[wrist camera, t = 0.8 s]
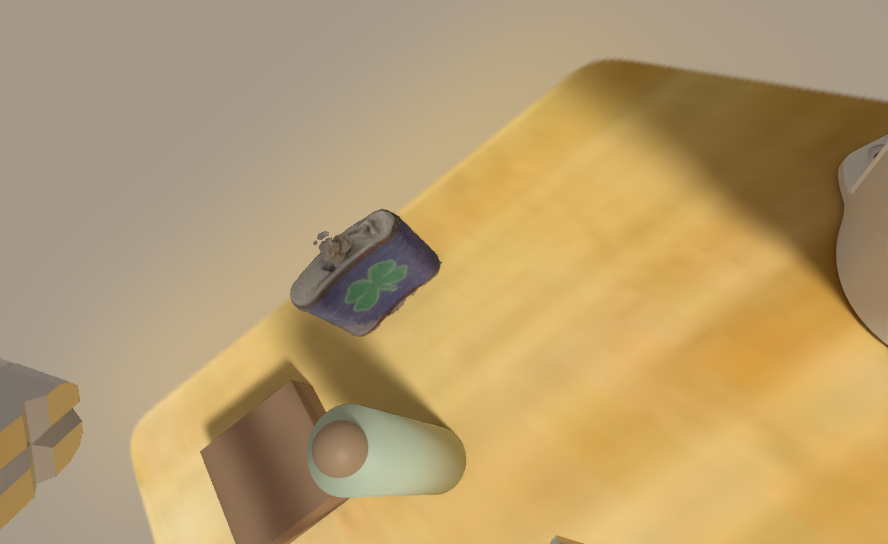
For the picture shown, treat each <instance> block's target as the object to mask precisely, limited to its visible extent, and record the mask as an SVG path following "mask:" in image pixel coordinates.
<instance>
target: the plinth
mask: <svg viewBox="0 0 888 544" xmlns="http://www.w3.org/2000/svg"><path fill="white" fill-rule="evenodd" d="M325 413H326V412H325V410H324V408H323V406H322V404H321V402H320V400H319V398H318V396H317V394H316V392H315V391H314V389H313V387H312V386H310V385H306V384H303V383H299V382H296V381H292V380H290V381H289V382H288V383H287V384H285V385H284V386H283V387H282V388H280V389H279V390H278V391H276V392H275V393H274V394H273V395H271V396H270V397H269V398H268V399H266V400H265V401H264V402H262V403H261V404H260V405H259V406H257V407H256V408H255V409H254V410H252V411H251V412H250V413H248V414H247V415H246V416H245V417H243V418H242V419H241V420H240V421H238V422H237V423H236V424H234V425H233V426H232V427H231V428H229V429H228V430H227V431H226V432H224V433H223V434H222V435H220V436H219V437H218V438H217V439H215V440H214V441H213V442H212V443H210V444H209V445H208V446H206V447H205V448H204V449H203V450H201V451H200V453H201V455H202V458H203V460H204V463H205V466H206V468H207V471H208V473H209V476H210V478H211V481H212V484H213V486H214V489H215V491H216V494H217V497H218V499H219V502H220V504H221V507H222V509H223V512H224V515H225V517H226V520H227V522H228V525H229V527H230V530H231V533H232V535H233V538H234V540H235V543H236V544H290V543H291V542H292V541H294V540H295V539H296V538H298V537H299V536H300V535H302V534H303V533H304V532H306V531H307V530H308V529H310V528H311V527H312V526H314V525H315V524H316V523H318V522H319V521H320V520H321V519H323V518H324V517H325V516H327V515H328V514H329V513H331V512H332V511H333V510H335V509H336V508H337V507H339V506H340V505H341V504H343V503H344V502H345V501H347V500H348V499H349V498H350V497H348V498H341V497H335V496H332V495H330V494H328V493H326V492H324V491H323V490H322V489H321V488H320V487H319V486H318V485H317V484H316V483H315V481H314V480H313V478H312V476H311V474H310V471H309V468H308V463H307V446H308V441H309V437H310V435H311V432H312V430H313V428H314V426H315V425H316V423H317V422H318V420H319V419H320V418H321V417H322V416H323V415H324V414H325Z"/></svg>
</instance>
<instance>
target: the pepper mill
mask: <svg viewBox="0 0 888 544" xmlns="http://www.w3.org/2000/svg"><path fill="white" fill-rule="evenodd" d="M307 463H308V468H309V471H310V474H311V476H312V478H313V480H314V481H315V483H316V484H317V485H318V486H319V487H320V488H321V489H322V490H323V491H324V492H326V493H328V494H330V495H332V496H335V497H341V498H348V497H379V496H409V495H437V494H442V493H445V492H448V491H449V490H451V489H452V488H454V487H455V486H456V485H457V484H458V482H459V481H460V479H461V478H462V476H463V473H464V470H465V466H466V454H465V449H464V446H463V444H462V442H461V440H460V439H459V438H458V436H457V435H456V434H455V433H453V432H452V431H451V430H449V429H447V428H444V427H440V426H437V425H433V424H429V423H425V422H422V421H418V420H414V419H410V418H407V417H403V416H399V415H395V414H391V413H388V412H384V411H380V410H376V409H373V408H369V407H365V406H361V405H357V404H343V405H339V406H336V407H334V408H332V409H331V410H329V411H328V412H326V413H325V414H324V415H323V416H322V417H321V418H320V419H319V420H318V422H317V423H316V425H315V426H314V428H313V430H312V432H311V435H310V437H309V441H308V446H307Z"/></svg>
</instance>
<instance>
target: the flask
mask: <svg viewBox="0 0 888 544" xmlns="http://www.w3.org/2000/svg"><path fill="white" fill-rule="evenodd" d="M328 234H329V233H328V232H326V231H325V232H322V233H320V234H319V235H318V238H317V239H320V240H322V239H323V238H324V237H325V236H328ZM313 244H314V245H316V244H317V241H315V242H314V243H313ZM319 249H320V251H321V253H320V254H319V255H318V256H317V257H316V258H315V259H314V260H313V261H312V262H311V264H310V265H309V266H308V267H307V268H306V269H305V270H304V271H303V272H302V274H301V275H300V276H299V278H298V279H297V280H296V281H295V282H294V284H293V286H292V288H291V294H290V295H291V300H292V303H293V304H294V305H295V306H296V307H297V308H298V309H300V310H302V311H305V312H309V313H311V314H313V315H315V316H317V317H319V318H321V319H324V320H326V321H328V322H330V323H331V324H333V325H335V326H338V327H340V328H342V329H343V330H345V331H347V332H349V333H351V334H352V335H355V336H365V335H366V334H369V333H371V332H372V331H373V330H375V329H377V328H378V327H379V326H380V325H379V323H381V321H383V320H384V319H385V318H386V317H387V316H389V315H390V314H393V313H394V312H395V311H396V310H398V309H399V308H400V307H401V306H402V305H403V303H404V301H405V299H406V297H408V296H409V295H414V293H415V292H416V290H417V289H418V288H419V287H420V286H423V285H425V284H426V283H427V282H428V281H430V280H431V279H433V278H434V277H435V276H437V275H438V272H439V270H440V264H441V263H442V262H440V261H439V259H438V256H437V254H436V253H435V252H434V251H433V250H432V249H431V248H430V247H429V246H428V245H427V244H426V243H425V242H424V241H423V240H421V239H420V237H419V236H418V235H417V234H416V233H414V232H413V231H412V230H411V228H410V227H409V226H408V225H407V224H406V223H405V222H403V221H402V220H401V219H400V217H399V216H397V215H395V214H394V213H392V212H390V211H388V210H383V209H381V210H378V211H375V212H373V213H371V214H370V215H368V216H367V217H366V218H364V219H363V220H361V221H359V222H357V223H356V224H354V225H353V226H351V227H350V228H348V229H347V230H346V231H345V232H343V233H342V234H340V235H337V236H335V237H334V239H333V240H332V238H328V239H326V241H323V242H322V243H321V244H320V246H319Z"/></svg>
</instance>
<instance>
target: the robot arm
mask: <svg viewBox="0 0 888 544" xmlns="http://www.w3.org/2000/svg"><path fill="white" fill-rule="evenodd" d="M875 157H876V158H875ZM874 158H875V159H874ZM838 181H839V187H840V191H841V195H842V198H843V201H844V214H843V219H842V222H841V226H840V230H839V234H838V238H837V245H836V262H837V270H838V275H839V278H840V282H841V285H842V287H843V290H844V292H845V295H846V297H847V299H848V301H849V302H850V304H851V306H852V307H853V309H854V310H855V312H856V313H857V315H858V316H859V317H860V319H861V320H862V321H863V322H864V323H865V325H866V326H867V327H868V328H869V329H870V330H871V331H872V332H873V333H874V334H875V335H876V336H877V337H878V338H880V339H881V340H882V341H883V342H884V343H886V344H887V345H888V134H887V135H885V136H883V137H881V138H879V139H877V140H875V141H873V142H871V143H869V144H867V145H865V146H863V147H861V148H860V149H858V150H856V151H854V152H852V153H851V154H849V155H848V156H847V157H846V158H845V159H844V161H843V162H842V163H841V164H840V166H839V169H838ZM79 402H80V397H79V390H78V386H77V385H75V384H73V383H71V382H68V381H66V380H63V379H60V378H57V377H54V376H51V375H48V374H45V373H43V372H40V371H37V370H34V369H31V368H28V367H25V366H22V365H20V364H15V363H13V362H10V361H7V360H4V359H1V358H0V530H1V529H2V528H3V527H4V526H5V525H6V524H7V523H8V522H9V521H10V520H11V519H12V518H13V517H14V516H15V515H16V514H18V513H19V512H20V511H21V510H22V509H23V508H24V507H25V506H26V505H27V504H28V503H29V502H30V501H31V500H32V499H33V498H34V497H35V491H36V484H37V483H39V482H42V481H45V480H47V479H50V478H52V477H55V476H57V475H58V474H59V473H60V472H61V471H62V470H63V469H64V467H66V466H67V465H68V463H69V462H70V461H71V459H72V458H73V456H74V454H75V453H76V451H77V449H78V447H79V445H80V442H81V438H82V433H83V429H82V421H81V419H80V418H79V416H78V415H77V414H76V412H75V411H74V409H73V407H74V406H75V405H77V404H78V403H79ZM550 544H583V543H580V542H577V541H574V540H570V539H567V538H564V537H560V536H557V535H556V536H555V537H554V538H553V539H552V541H551V543H550Z"/></svg>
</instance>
